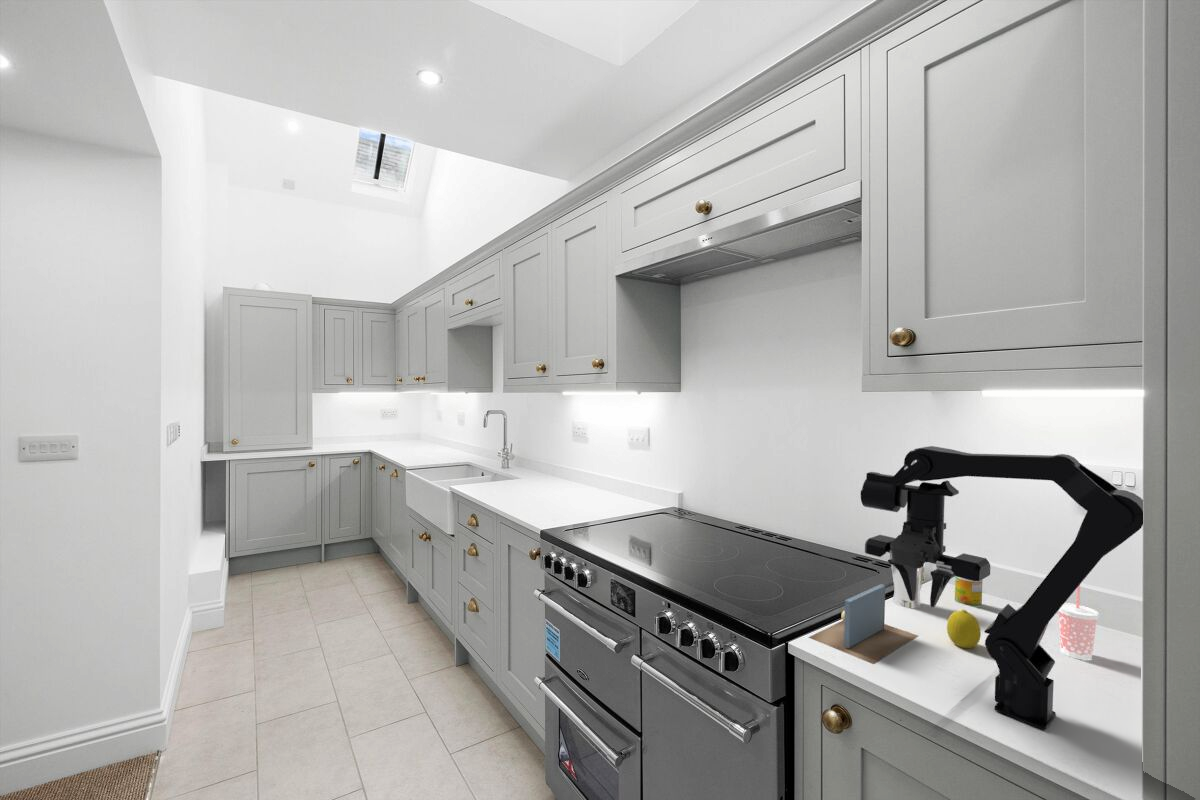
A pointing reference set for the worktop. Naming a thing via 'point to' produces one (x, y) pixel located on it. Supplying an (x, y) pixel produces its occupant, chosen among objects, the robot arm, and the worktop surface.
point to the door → (864, 615)
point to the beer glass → (901, 592)
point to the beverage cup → (1077, 629)
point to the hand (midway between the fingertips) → (922, 603)
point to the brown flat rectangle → (866, 642)
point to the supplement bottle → (968, 592)
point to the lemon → (963, 629)
